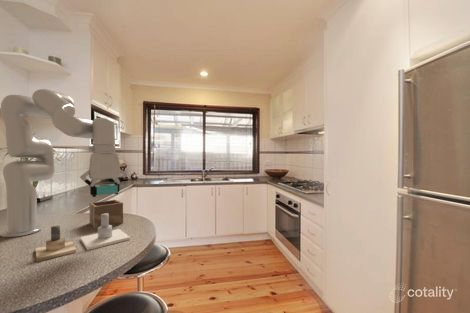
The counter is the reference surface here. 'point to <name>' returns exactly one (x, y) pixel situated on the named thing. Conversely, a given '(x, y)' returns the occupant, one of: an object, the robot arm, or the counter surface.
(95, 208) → the tool caddy
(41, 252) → the stand
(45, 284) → the counter surface
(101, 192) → the teal square frame
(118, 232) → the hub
